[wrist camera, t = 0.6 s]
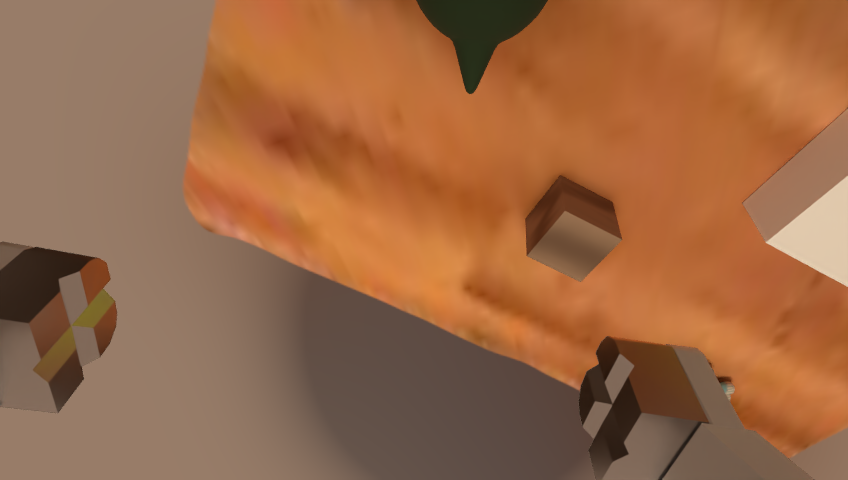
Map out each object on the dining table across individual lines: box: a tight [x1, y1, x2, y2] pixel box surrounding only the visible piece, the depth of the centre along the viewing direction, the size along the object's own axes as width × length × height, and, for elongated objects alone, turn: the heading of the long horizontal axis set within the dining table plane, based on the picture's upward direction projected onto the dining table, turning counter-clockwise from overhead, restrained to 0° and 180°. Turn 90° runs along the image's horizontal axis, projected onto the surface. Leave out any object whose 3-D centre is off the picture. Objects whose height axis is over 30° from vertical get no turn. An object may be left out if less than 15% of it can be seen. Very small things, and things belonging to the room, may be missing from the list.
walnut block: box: [526, 175, 622, 282], centre depth 51 cm, size 6×6×6 cm
